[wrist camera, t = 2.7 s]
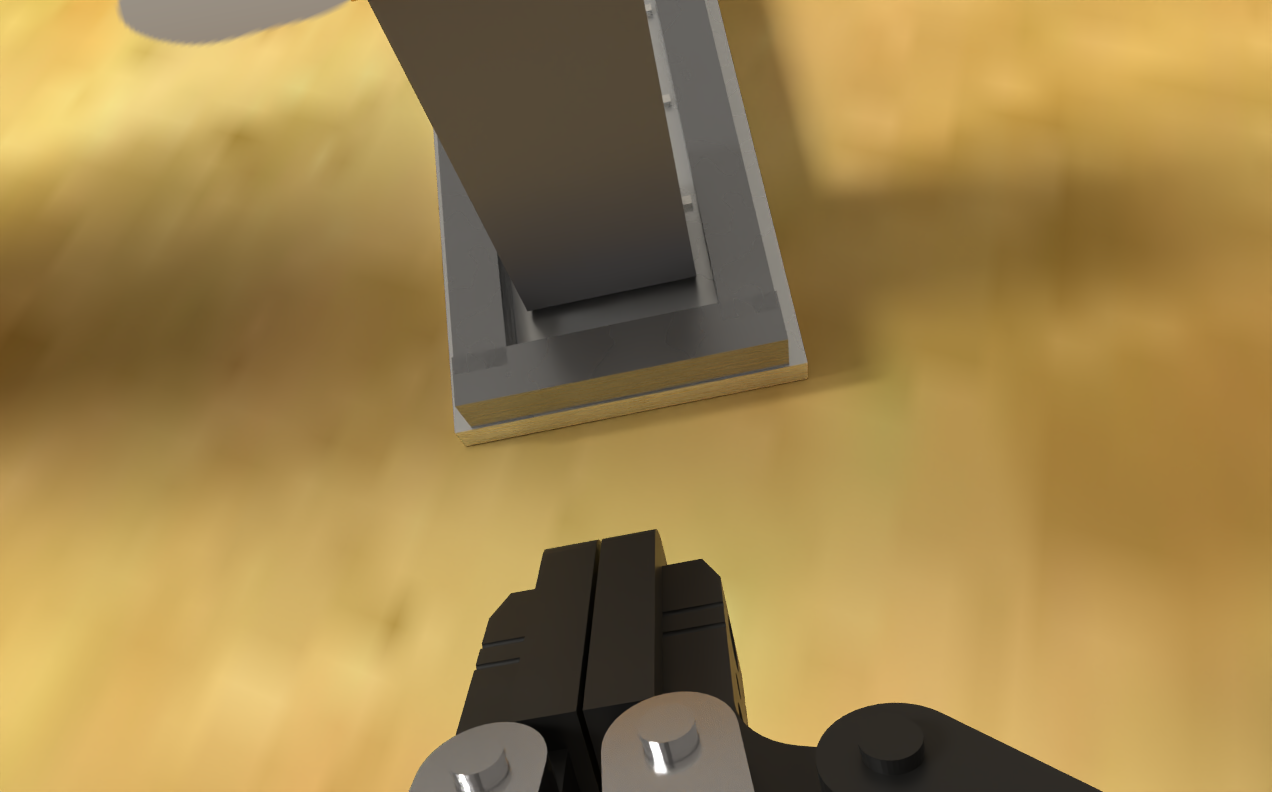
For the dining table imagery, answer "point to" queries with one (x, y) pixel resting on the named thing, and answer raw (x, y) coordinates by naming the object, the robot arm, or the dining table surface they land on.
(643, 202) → the fader tab
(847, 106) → the dining table surface
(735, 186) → the fader console
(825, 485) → the dining table surface
